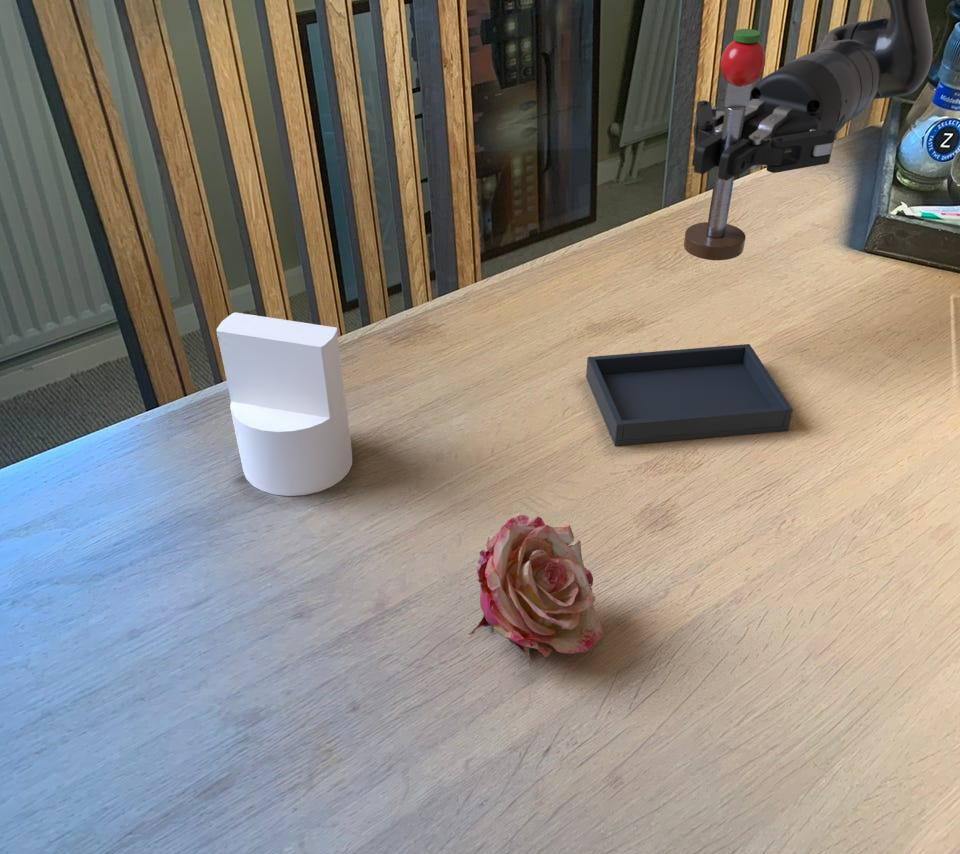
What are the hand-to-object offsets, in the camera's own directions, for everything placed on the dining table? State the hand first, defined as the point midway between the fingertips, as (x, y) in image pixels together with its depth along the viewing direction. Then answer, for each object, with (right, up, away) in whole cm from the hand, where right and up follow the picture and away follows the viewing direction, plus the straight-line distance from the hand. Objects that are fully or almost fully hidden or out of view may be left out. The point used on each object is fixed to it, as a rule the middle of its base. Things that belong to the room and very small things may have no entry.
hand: (711, 164), depth 83 cm
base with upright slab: (-34, -24, +2) cm, 42 cm away
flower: (-15, -38, -13) cm, 43 cm away
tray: (-1, -18, +8) cm, 19 cm away
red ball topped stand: (+2, -4, +7) cm, 9 cm away
